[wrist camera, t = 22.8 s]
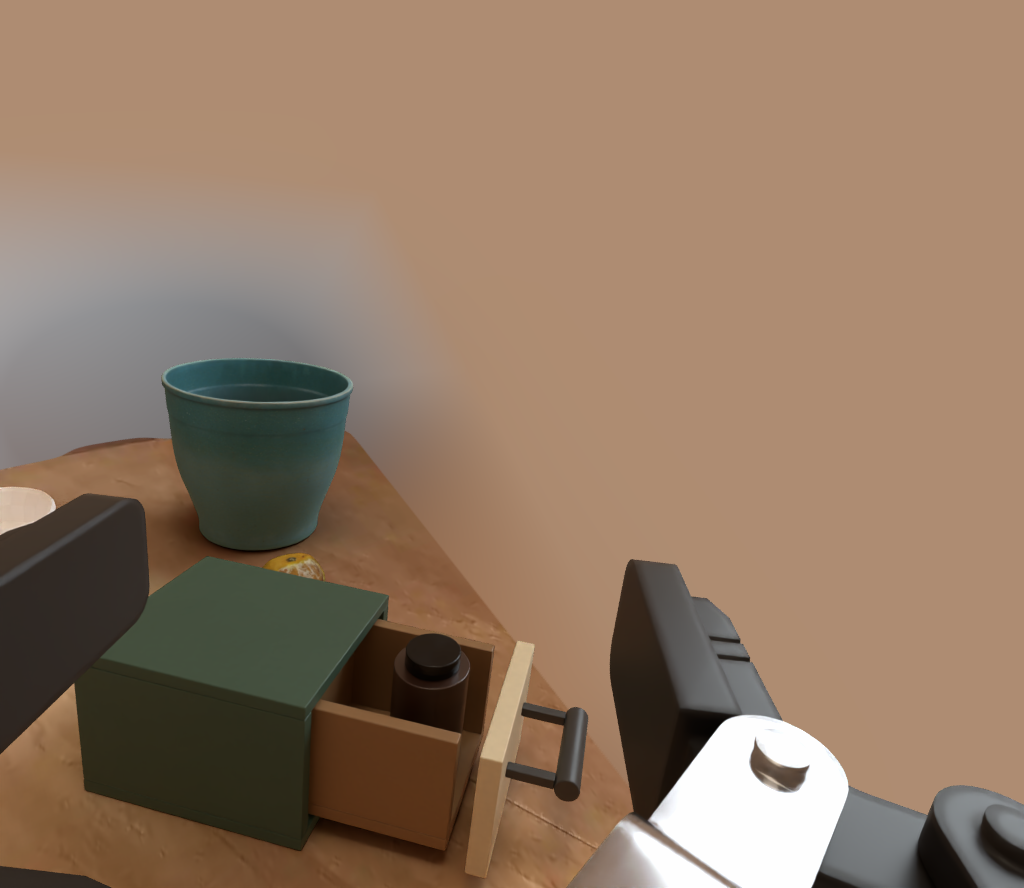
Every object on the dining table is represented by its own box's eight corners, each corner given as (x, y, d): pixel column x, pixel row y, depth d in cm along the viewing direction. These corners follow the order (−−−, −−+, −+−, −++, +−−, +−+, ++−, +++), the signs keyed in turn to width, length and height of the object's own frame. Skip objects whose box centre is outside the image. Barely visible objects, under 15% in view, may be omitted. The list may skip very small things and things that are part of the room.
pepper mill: (465, 749, 41) (479, 635, 39) (446, 804, 37) (460, 681, 35) (400, 733, 42) (410, 620, 40) (374, 785, 38) (383, 663, 35)
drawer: (579, 755, 44) (597, 657, 41) (561, 900, 34) (584, 783, 31) (349, 699, 46) (354, 604, 44) (269, 819, 36) (271, 705, 34)
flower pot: (363, 557, 67) (373, 400, 62) (168, 580, 59) (160, 401, 54) (327, 491, 82) (332, 360, 77) (167, 501, 74) (161, 355, 69)
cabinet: (380, 711, 47) (389, 594, 44) (300, 851, 36) (305, 708, 33) (209, 669, 48) (207, 555, 46) (84, 790, 38) (70, 650, 35)
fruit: (287, 638, 53) (288, 599, 52) (230, 598, 58) (230, 561, 56) (364, 601, 60) (366, 566, 59) (308, 567, 64) (309, 534, 63)
